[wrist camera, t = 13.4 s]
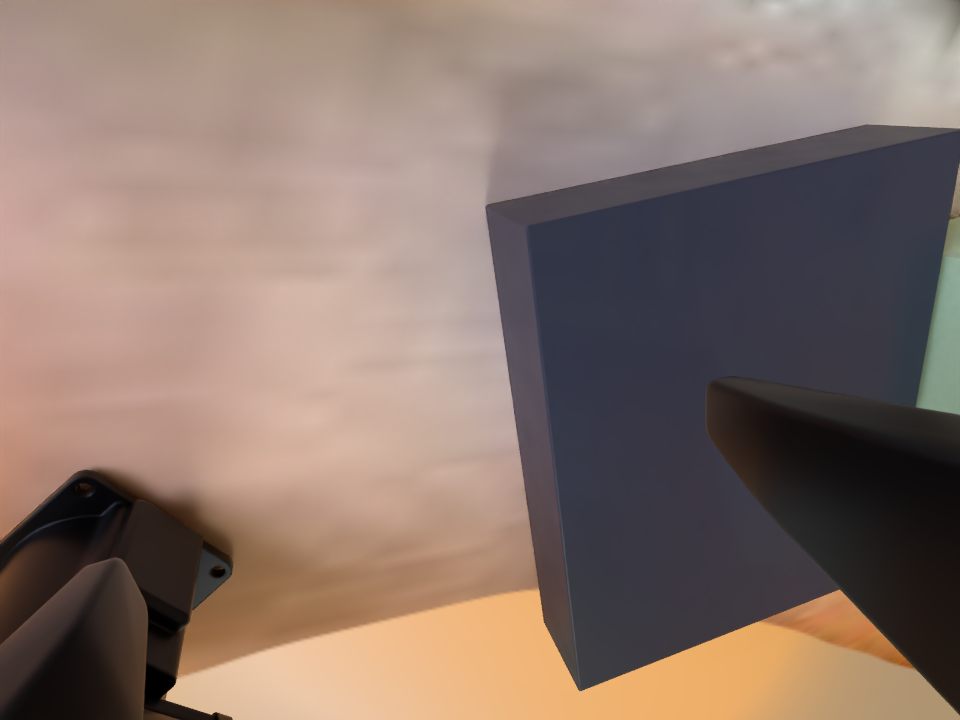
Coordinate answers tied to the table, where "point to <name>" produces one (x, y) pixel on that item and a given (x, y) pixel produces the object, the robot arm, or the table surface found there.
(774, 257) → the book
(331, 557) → the table surface
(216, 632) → the table surface
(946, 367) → the green arch-shaped block
